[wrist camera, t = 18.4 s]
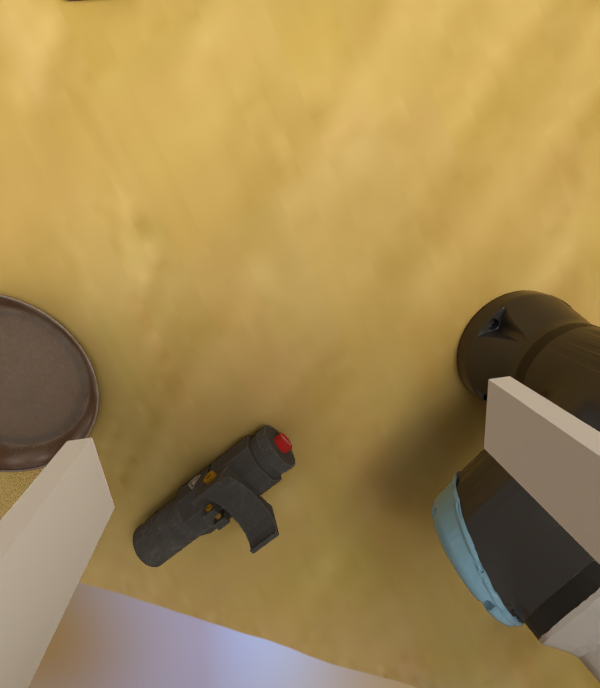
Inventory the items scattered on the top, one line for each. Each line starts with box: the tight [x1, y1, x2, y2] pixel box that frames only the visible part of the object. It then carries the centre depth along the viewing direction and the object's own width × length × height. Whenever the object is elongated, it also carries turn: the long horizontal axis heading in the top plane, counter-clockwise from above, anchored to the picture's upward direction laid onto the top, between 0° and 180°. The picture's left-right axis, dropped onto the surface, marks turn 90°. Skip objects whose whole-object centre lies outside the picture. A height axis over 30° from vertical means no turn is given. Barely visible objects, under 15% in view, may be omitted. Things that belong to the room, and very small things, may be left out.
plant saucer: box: [0, 295, 99, 472], centre depth 41 cm, size 21×21×3 cm
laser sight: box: [133, 426, 295, 567], centre depth 45 cm, size 10×22×10 cm, turn 129°
